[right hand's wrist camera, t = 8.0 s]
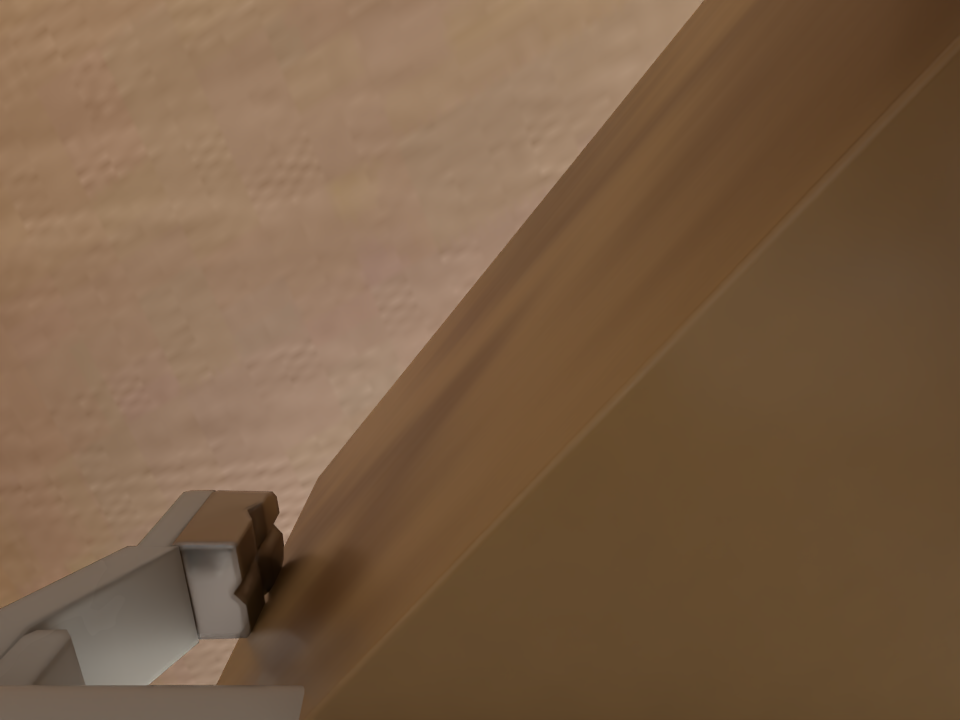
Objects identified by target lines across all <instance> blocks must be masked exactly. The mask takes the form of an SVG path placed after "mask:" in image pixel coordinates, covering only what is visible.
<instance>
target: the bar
mask: <svg viewBox="0 0 960 720" xmlns="http://www.w3.org/2000/svg"><path fill="white" fill-rule="evenodd" d="M264 597H265V605H264V607H263V609H262V611H261V613H260V615H259V617H258V619H257V621H256V624H255V626H254V628H253V630H252V632H251V634H250V635H249V636H248V637H247V638H239V640H238V642H237V644H236V646H235V648H234V650H233V652H232V654H231V656H230V658H229V660H228V662H227V664H226V666H225V668H224V670H223V672H222V674H221V676H220V678H219V681H218V683H217V685H302V686H304V697H303V702H302V707H301V712H300V717H299V720H960V0H704V1H703V2H702V4H701V5H700V6H699V7H698V9H697V10H696V11H695V12H694V14H693V15H692V16H691V17H690V19H689V20H688V21H687V22H686V23H685V25H684V26H683V27H682V28H681V30H680V31H679V32H678V33H677V35H676V36H675V37H674V38H673V40H672V41H671V42H670V43H669V45H668V46H667V47H666V48H665V49H664V51H663V52H662V53H661V54H660V56H659V57H658V58H657V59H656V61H655V62H654V63H653V64H652V66H651V67H650V68H649V69H648V70H647V72H646V73H645V74H644V75H643V77H642V78H641V79H640V80H639V82H638V83H637V84H636V85H635V87H634V88H633V89H632V90H631V92H630V93H629V94H628V95H627V96H626V98H625V99H624V100H623V101H622V103H621V104H620V105H619V106H618V108H617V109H616V110H615V111H614V113H613V114H612V115H611V116H610V118H609V119H608V120H607V121H606V122H605V124H604V125H603V126H602V127H601V129H600V130H599V131H598V132H597V134H596V135H595V136H594V137H593V139H592V140H591V141H590V142H589V143H588V145H587V146H586V147H585V148H584V150H583V151H582V152H581V153H580V155H579V156H578V157H577V158H576V160H575V161H574V162H573V163H572V165H571V166H570V167H569V168H568V169H567V171H566V172H565V173H564V174H563V176H562V177H561V178H560V179H559V181H558V182H557V183H556V184H555V186H554V187H553V188H552V189H551V190H550V192H549V193H548V194H547V195H546V197H545V198H544V199H543V200H542V202H541V203H540V204H539V205H538V207H537V208H536V209H535V210H534V212H533V213H532V214H531V215H530V216H529V218H528V219H527V220H526V221H525V223H524V224H523V225H522V226H521V228H520V229H519V230H518V231H517V233H516V234H515V235H514V236H513V238H512V239H511V240H510V241H509V242H508V244H507V245H506V246H505V247H504V249H503V250H502V251H501V252H500V254H499V255H498V256H497V257H496V259H495V260H494V261H493V262H492V263H491V265H490V266H489V267H488V268H487V270H486V271H485V272H484V273H483V275H482V276H481V277H480V278H479V280H478V281H477V282H476V283H475V285H474V286H473V287H472V288H471V289H470V291H469V292H468V293H467V294H466V296H465V297H464V298H463V299H462V301H461V302H460V303H459V304H458V306H457V307H456V308H455V309H454V310H453V312H452V313H451V314H450V315H449V317H448V318H447V319H446V320H445V322H444V323H443V324H442V325H441V327H440V328H439V329H438V330H437V332H436V333H435V334H434V335H433V336H432V338H431V339H430V340H429V341H428V343H427V344H426V345H425V346H424V348H423V349H422V350H421V351H420V353H419V354H418V355H417V356H416V358H415V359H414V360H413V361H412V362H411V364H410V365H409V366H408V367H407V369H406V370H405V371H404V372H403V374H402V375H401V376H400V377H399V379H398V380H397V381H396V382H395V383H394V385H393V386H392V387H391V388H390V390H389V391H388V392H387V393H386V395H385V396H384V397H383V398H382V400H381V401H380V402H379V403H378V405H377V406H376V407H375V408H374V409H373V411H372V412H371V413H370V414H369V416H368V417H367V418H366V419H365V421H364V422H363V423H362V424H361V426H360V427H359V428H358V429H357V431H356V432H355V433H354V434H353V435H352V437H351V438H350V439H349V440H348V442H347V443H346V444H345V445H344V447H343V448H342V449H341V450H340V452H339V453H338V454H337V455H336V456H335V458H334V459H333V460H332V461H331V463H330V464H329V465H328V466H327V468H326V469H325V470H324V471H323V473H322V474H321V475H320V476H319V478H318V479H317V481H316V483H315V485H314V487H313V490H312V492H311V494H310V496H309V498H308V500H307V502H306V504H305V506H304V508H303V510H302V512H301V514H300V516H299V518H298V520H297V522H296V524H295V526H294V528H293V530H292V532H291V534H290V536H289V538H288V540H287V542H286V544H285V546H284V560H283V565H282V569H281V571H280V573H279V575H278V577H277V579H276V581H275V583H274V585H273V587H272V588H271V590H270V591H269V592H268V593H267V594H266V595H264Z"/></svg>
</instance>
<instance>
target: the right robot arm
mask: <svg viewBox="0 0 960 720" xmlns="http://www.w3.org/2000/svg"><path fill="white" fill-rule="evenodd" d="M278 514H279V507H278V501H277V496H276V495H275V494H274V493H273V492H271V491H222V490H218V491H215V490H190V491H186V492H183V493H182V495H181V496H180V497H179V498H178V499H177V500H176V501H175V503H174V504H173V505H172V506H171V507H170V508H169V510H168V511H167V512H166V513H165V514H164V515H163V516H162V518H161V519H160V520H159V521H158V522H157V523H156V525H155V526H154V527H153V528H152V529H151V530H150V531H149V533H148V534H147V535H146V536H145V537H144V538H143V539H142V541H141V542H140V543H139V544H138V545H137V546H127V547H125V548H123V549H121V550H119V551H117V552H115V553H113V554H111V555H109V556H107V557H105V558H103V559H101V560H99V561H96V562H94V563H92V564H90V565H88V566H86V567H84V568H82V569H80V570H78V571H76V572H74V573H72V574H70V575H68V576H66V577H64V578H62V579H60V580H58V581H56V582H54V583H52V584H50V585H48V586H46V587H44V588H42V589H40V590H38V591H36V592H34V593H31V594H29V595H27V596H25V597H23V598H21V599H19V600H17V601H15V602H13V603H11V604H9V605H7V606H5V607H3V608H1V609H0V720H299V717H300V712H301V707H302V702H303V697H304V686H302V685H149V684H150V683H151V682H152V681H154V680H155V679H156V678H157V677H158V676H160V675H161V674H162V673H163V672H164V671H165V670H167V669H168V668H169V667H170V666H171V665H173V664H174V663H175V662H176V661H177V660H178V659H180V658H181V657H182V656H183V655H184V654H186V653H187V652H188V651H189V650H190V649H191V648H193V647H194V646H195V645H196V644H197V643H199V639H228V638H247V637H248V636H249V635H250V634H251V632H252V630H253V628H254V626H255V624H256V621H257V619H258V617H259V615H260V613H261V611H262V609H263V607H264V605H265V597H264V595H266V594H267V593H268V592H269V591H270V590H271V588H272V587H273V585H274V583H275V581H276V579H277V577H278V575H279V573H280V571H281V569H282V565H283V560H284V542H283V534H282V533H281V532H280V531H279V530H278V529H277V527H276V526H275V525H274V522H275V520H276V518H277V516H278Z"/></svg>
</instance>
